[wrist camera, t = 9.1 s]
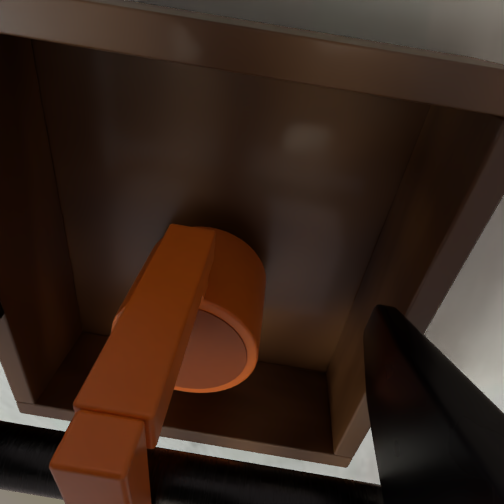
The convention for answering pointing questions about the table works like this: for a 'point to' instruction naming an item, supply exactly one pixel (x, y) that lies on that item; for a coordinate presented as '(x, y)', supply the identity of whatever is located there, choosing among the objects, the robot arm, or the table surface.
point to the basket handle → (179, 475)
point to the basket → (234, 198)
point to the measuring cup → (161, 359)
